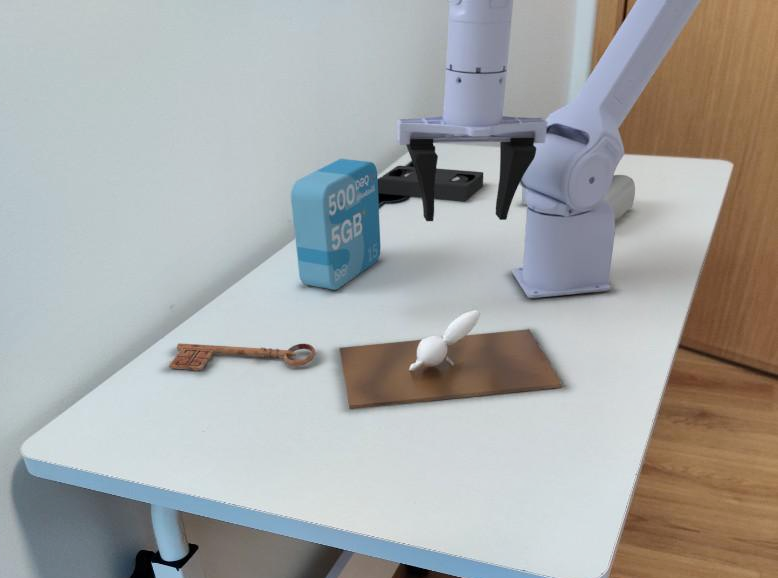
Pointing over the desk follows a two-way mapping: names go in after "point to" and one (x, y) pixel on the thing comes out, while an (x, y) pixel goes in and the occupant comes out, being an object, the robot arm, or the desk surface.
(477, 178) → the vhs tape
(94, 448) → the desk surface
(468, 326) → the rabbit figurine
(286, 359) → the key
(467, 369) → the brown wooden board
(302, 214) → the data package
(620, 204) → the infrared thermometer
